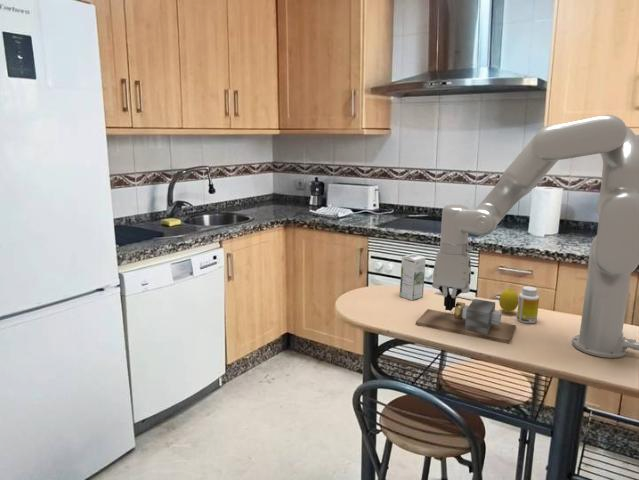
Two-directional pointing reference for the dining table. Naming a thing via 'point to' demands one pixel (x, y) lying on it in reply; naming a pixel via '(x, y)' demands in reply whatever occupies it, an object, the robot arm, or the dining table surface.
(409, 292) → the syrup box
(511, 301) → the lemon
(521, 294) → the supplement bottle
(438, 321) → the bearing stand
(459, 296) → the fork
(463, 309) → the shaft
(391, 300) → the dining table surface
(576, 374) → the dining table surface
